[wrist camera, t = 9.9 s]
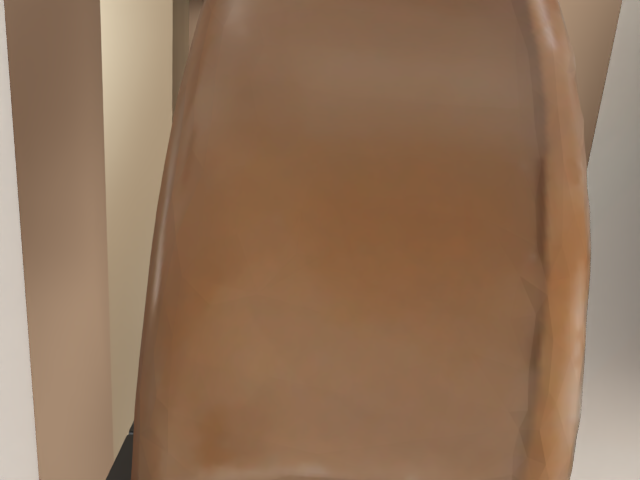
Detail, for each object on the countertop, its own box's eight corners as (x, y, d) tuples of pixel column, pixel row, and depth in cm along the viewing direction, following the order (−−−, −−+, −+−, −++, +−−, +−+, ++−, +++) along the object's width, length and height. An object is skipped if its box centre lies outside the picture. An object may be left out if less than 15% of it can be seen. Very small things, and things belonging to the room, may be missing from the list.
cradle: (609, -86, 12) (698, -132, 9) (469, 629, 17) (500, 727, 15) (23, -145, 11) (-61, -213, 8) (69, 620, 16) (26, 720, 14)
